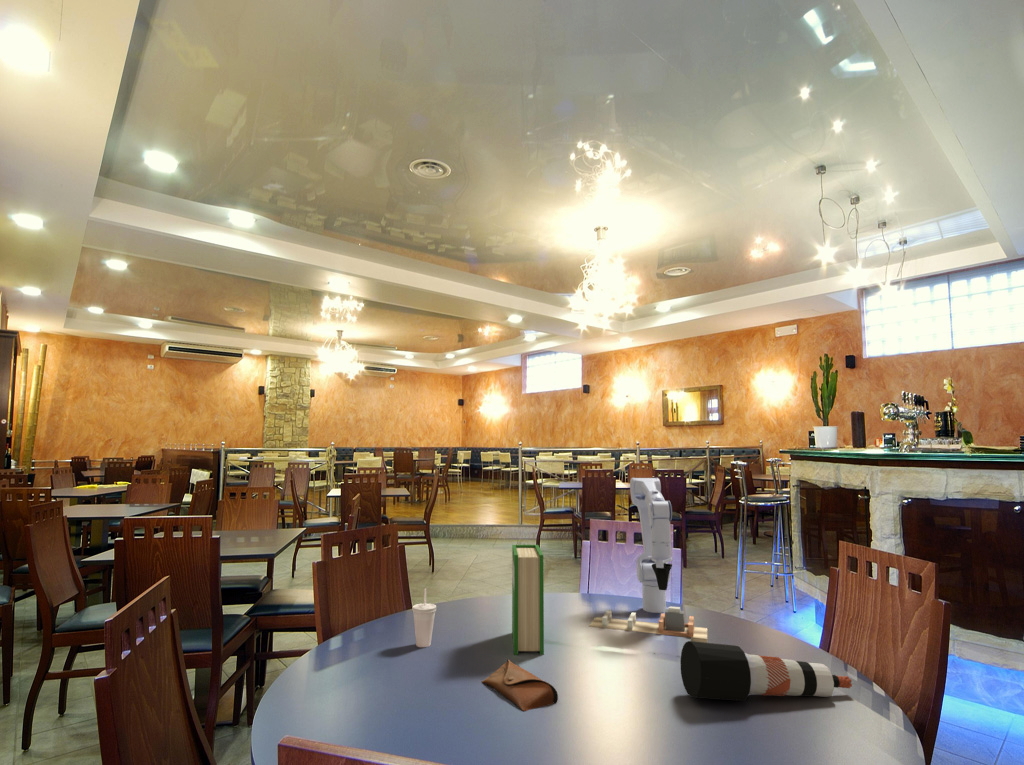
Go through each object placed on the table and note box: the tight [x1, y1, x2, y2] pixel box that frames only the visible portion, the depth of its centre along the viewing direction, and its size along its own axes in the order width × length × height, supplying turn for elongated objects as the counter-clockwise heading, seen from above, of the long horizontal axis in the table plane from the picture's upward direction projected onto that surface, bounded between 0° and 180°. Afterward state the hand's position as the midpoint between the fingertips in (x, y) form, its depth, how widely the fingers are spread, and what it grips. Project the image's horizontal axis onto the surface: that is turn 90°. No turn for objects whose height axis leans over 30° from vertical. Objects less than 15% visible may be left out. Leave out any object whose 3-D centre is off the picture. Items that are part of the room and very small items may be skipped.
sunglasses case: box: [480, 659, 559, 712], centre depth 113 cm, size 18×7×7 cm
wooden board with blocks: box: [588, 609, 708, 643], centre depth 154 cm, size 10×32×4 cm, turn 70°
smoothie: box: [411, 588, 437, 648], centre depth 143 cm, size 6×6×14 cm
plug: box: [664, 606, 686, 632], centre depth 152 cm, size 4×5×6 cm
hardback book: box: [511, 544, 545, 656], centre depth 145 cm, size 18×7×24 cm, turn 2°
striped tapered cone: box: [679, 640, 853, 702], centre depth 111 cm, size 10×34×10 cm, turn 92°
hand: (662, 589), depth 159 cm, fingers closed
